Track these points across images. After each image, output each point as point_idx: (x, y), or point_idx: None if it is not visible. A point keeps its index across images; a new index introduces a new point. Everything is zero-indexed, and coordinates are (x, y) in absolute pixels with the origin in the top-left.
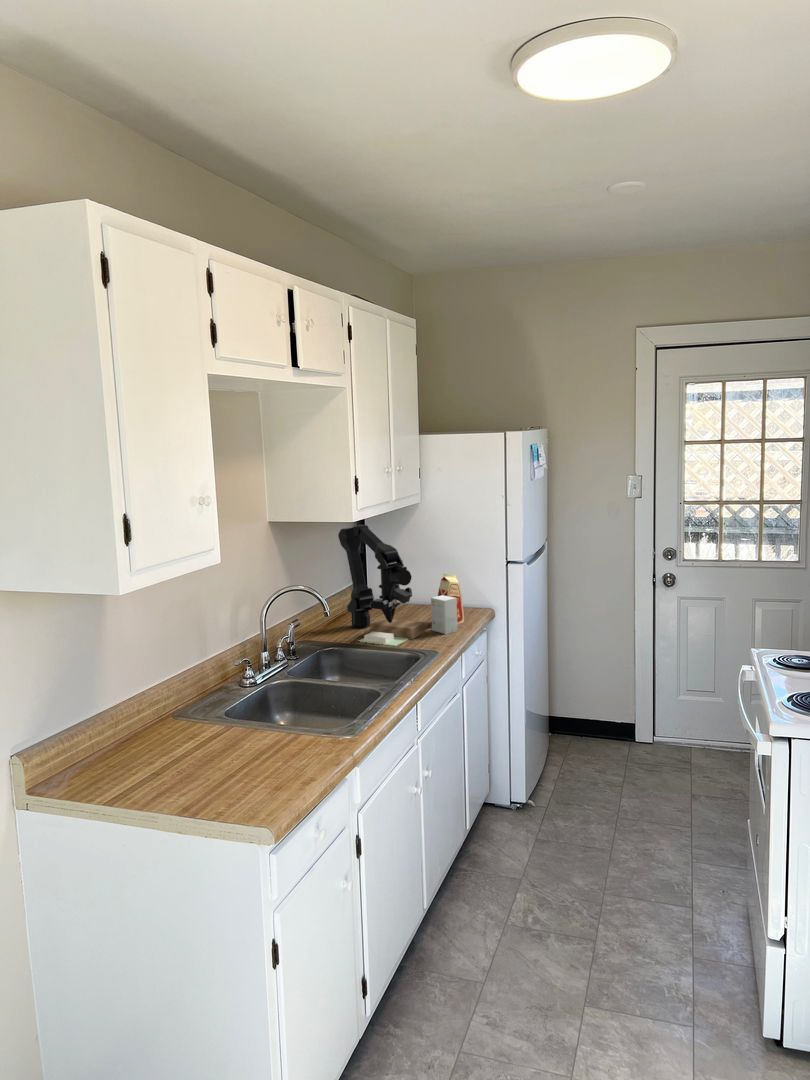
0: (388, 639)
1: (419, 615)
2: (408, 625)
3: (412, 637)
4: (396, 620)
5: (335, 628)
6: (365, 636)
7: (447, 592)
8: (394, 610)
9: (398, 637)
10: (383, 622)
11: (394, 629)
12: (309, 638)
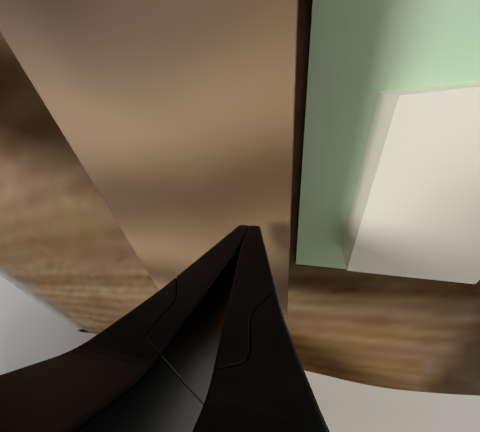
0: None
1: (5, 218)
2: (167, 29)
3: None
4: (140, 231)
5: None
6: (476, 271)
7: None
8: (148, 319)
9: (314, 85)
10: None
11: (292, 152)
12: (402, 382)
